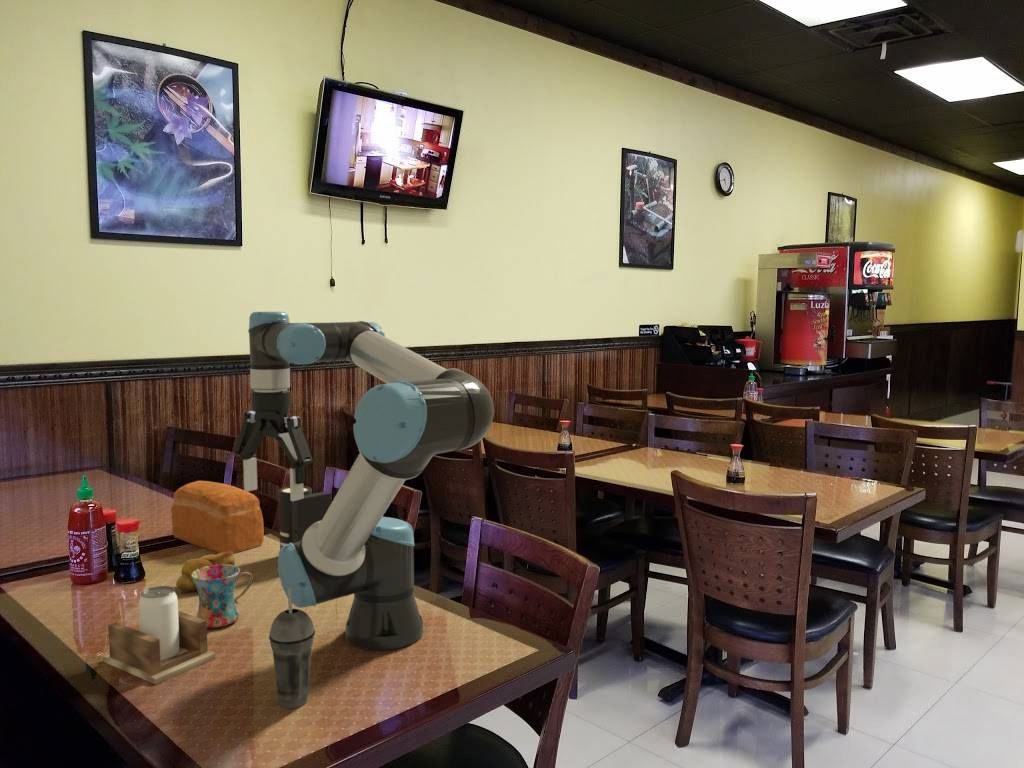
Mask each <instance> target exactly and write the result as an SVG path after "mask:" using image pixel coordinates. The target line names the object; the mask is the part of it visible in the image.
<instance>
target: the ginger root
mask: <svg viewBox="0 0 1024 768" xmlns="http://www.w3.org/2000/svg"><path fill="white" fill-rule="evenodd" d="M234 556H235V555H234V553H232V552H223V553H217V554H207V555H203V556H202V557H200V558H191V559H189V560H186V561H185V563H183V565H182V567H181V572H180V573H181V575H180V576H179V577H178V578H177V579H176V582H175V585H176V588H177V589H178V591H180V592H184V593H187V592H188V593H193V592H198V591H197V588H196V585H195V583H194V581H193V579H192V577H191V574H192V573H193V572H194V571H195V570H197V569H199V568H202V567H206V566H211V565H220V564H227V565H234V566H236V562H235V557H234Z"/></svg>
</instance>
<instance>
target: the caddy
mask: <svg viewBox="0 0 1024 768" xmlns="http://www.w3.org/2000/svg"><path fill="white" fill-rule="evenodd" d="M178 620H179V652H178V653H177V655H176V656H174V657H172V658H170V659H167V660H165V661H160V642H159V639H157V638H155V637H152V636H150V635H147V634H145V633H142V632H140V630H136V629H135V628H132V627H129V626H127V625H124V624H121V623H119V622H113V623H110V624H108V626H107V629H108V630H107V631H108V647H109V648H108V650H109V652H108V653H107V654H103V655H102V662H104V663H106V664H107V665H110V666H112V667H115V668H116V669H117V668H118V669H119V670H122V671H124V672H127V673H129V674H131V675H133V676H135V677H138V678H139V679H142V680H144V681H146V682H149V683H151V684H153V685H158V684H161V683H163V682H165V681H166V680H169V679H171V678H174V677H176V676H179V675H180V674H183V673H185V672H187V671H189V670H192V669H194V668H196V667H199V666H202V665H203V664H205V663H208V662H210V661H212V660H214V659H216V652H213V651H211V650H209V649H208V627H207V621H206V620H203V619H200V618H197V617H196V616H195V615H191V614H188V613H185V612H183V611H180V610H178Z"/></svg>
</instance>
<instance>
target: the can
mask: <svg viewBox="0 0 1024 768" xmlns="http://www.w3.org/2000/svg"><path fill="white" fill-rule="evenodd" d="M175 590H176V589H175V588H174V587H173V586H169V585H158V586H152V587H149V588H146V589H144V590H142V591H141V593H140V598H139V600H138V617H139V618H138V620H139V631H140V632H142V633H145V634H147V635H150V636H152V637H155V638H157V639H159V642H160V661H165V660H167V659H170V658H172V657H174V656H176V655H177V653H178V652H179V620H178V611H179V601H178V595H177V594H176V592H175Z"/></svg>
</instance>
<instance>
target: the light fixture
mask: <svg viewBox="0 0 1024 768" xmlns="http://www.w3.org/2000/svg"><path fill="white" fill-rule="evenodd" d="M303 486H304V499H300V500H296V501H291V498H290V485H289V486H285V487H282V488H279V489H278V515H279V516H278V517H279V518H278V520H279V521H278V523H279V550H280V549H281V548H282V547H283V546H284V545H287V544H289V543H297V542H299V541H301V539H302V537H303V535H304V533H305V532H306V530H307V529H308V528H309V527H310V526H311V525H312V524H314V523H316V522H318V521H321V520H322V519H323V517H324V515H325V514H326V512H327V510H328V508H329V507H330V505H331V503H332V492H331V493H330V492H328V491H320V492H313V491H312V487H310V486H307V485H303Z"/></svg>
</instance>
